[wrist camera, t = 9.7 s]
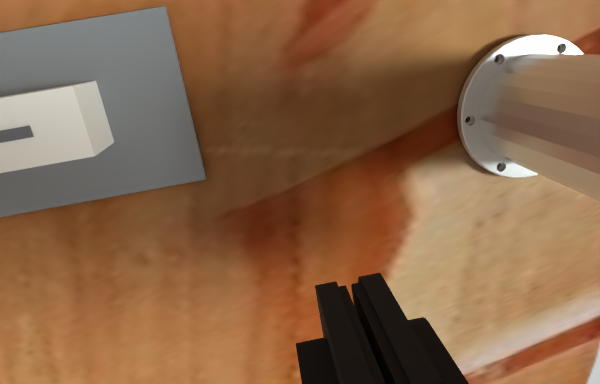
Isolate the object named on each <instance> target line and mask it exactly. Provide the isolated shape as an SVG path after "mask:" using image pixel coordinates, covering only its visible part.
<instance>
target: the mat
mask: <svg viewBox="0 0 600 384" xmlns="http://www.w3.org/2000/svg"><path fill="white" fill-rule="evenodd" d="M91 81H96V83H97V86H98V89H99V93H100V96H101V99H102V103H103V106H104V109H105V113H106V116H107V119H108V123H109V126H110V130H111V133H112V136H113V140H114V143H113V144H111V145H110V146H109V147H107V148H106V149H104V150H103V151H102V152H100V153H99V154H97V155H96V156H94V157H88V158H83V159H77V160H71V161H66V162H60V163H55V164H49V165H44V166H38V167H32V168H27V169H21V170H16V171H10V172H4V173H0V217H5V216H10V215H16V214H21V213H27V212H32V211H37V210H43V209H48V208H54V207H59V206H65V205H70V204H75V203H81V202H86V201H92V200H97V199H103V198H108V197H113V196H119V195H124V194H130V193H135V192H141V191H146V190H151V189H157V188H162V187H168V186H173V185H179V184H184V183H189V182H195V181H200V180H206V174H205V170H204V165H203V161H202V157H201V153H200V149H199V144H198V140H197V136H196V132H195V127H194V123H193V119H192V115H191V111H190V106H189V102H188V98H187V94H186V89H185V85H184V81H183V77H182V73H181V68H180V64H179V60H178V56H177V52H176V47H175V43H174V39H173V35H172V30H171V26H170V22H169V18H168V14H167V9H166V7H165V6H162V7H156V8H150V9H144V10H138V11H132V12H126V13H120V14H113V15H107V16H101V17H95V18H89V19H83V20H77V21H71V22H64V23H58V24H52V25H46V26H40V27H34V28H28V29H22V30H15V31H9V32H3V33H0V97H3V96H9V95H15V94H21V93H27V92H33V91H38V90H44V89H50V88H56V87H62V86H68V85H74V84H79V83H85V82H91Z"/></svg>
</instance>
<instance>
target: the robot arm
mask: <svg viewBox="0 0 600 384" xmlns="http://www.w3.org/2000/svg"><path fill="white" fill-rule="evenodd" d="M495 57H496V61H494V59H495ZM467 117H468V120H467V121H466V122H465V120H466V118H467ZM457 126H458V131H459V136H460V139H461V141H462V144H463V146H464V148H465V150H466V151H467V153H468V154H469V155H470V157H471V158H472V159H473V160H474V161H475V162H476V163H477V164H478V165H480V166H481V167H483V168H485V169H486V170H488V171H490V172H492V173H494V174H496V175H499V176H504V177H509V178H526V177H531V176H536V175H539V174H540V175H542V176H545V177H547V178H549V179H551V180H554V181H556V182H558V183H560V184H563V185H565V186H567V187H569V188H572V189H574V190H576V191H578V192H581V193H583V194H585V195H587V196H590V197H592V198H594V199H596V200H599V201H600V55H597V54H584V53H583V52H582V51H581V50H580V49H579V48H578V47H577V46H576V45H574V44H573V43H571V42H570V41H568V40H566V39H563V38H561V37H558V36H555V35H548V34H529V35H523V36H518V37H515V38H513V39H510V40H507V41H505V42H503V43H501V44H500V45H498V46H497V47H495V48H493V49H492V50H491V51H490V52H488V53H487V54H486V55H485V56H484V57H483V58H482V59H481V60H480V61H479V62H478V63H477V65H476V66H475V67H474V68H473V70H472V71H471V73H470V74H469V76H468V78H467V80H466V82H465V83H464V86H463V89H462V92H461V94H460V97H459V103H458V108H457ZM497 165H498V166H497ZM315 288H316V295H317V301H318V307H319V313H320V318H321V324H322V330H323V336H324V338H320V339H315V340H310V341H305V342H300V343H296V348H297V355H298V361H299V367H300V374H301V380H302V384H469V383H468V382H467V380H466V379H465V377H464V376H463V374H462V373H461V371H460V370H459V368H458V367H457V365H456V363H455V362H454V360H453V359H452V357H451V356H450V354H449V353H448V351H447V350H446V348H445V347H444V345H443V344H442V342H441V341H440V339H439V337H438V336H437V334H436V333H435V331H434V330H433V328H432V327H431V325H430V324H429V322H428V321H427V320H426V318H423V317H422V318H417V319H412V320H407V318H406V316H405V315H404V313H403V311H402V309H401V308H400V306H399V304H398V303H397V301H396V299H395V297H394V296H393V294H392V292H391V291H390V289H389V287H388V285H387V284H386V282H385V280H384V279H383V277H382V275H381V274H380V273H376V274H371V275H366V276H361V277H359V278H358V283H355V284H352V294H353V301H354V305H353V302H352V300H351V297H350V295H349V292H348V290H347V287H346V286H340V287H338V285H337V282H331V283H326V284H321V285H316V286H315Z"/></svg>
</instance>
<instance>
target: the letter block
mask: <svg viewBox="0 0 600 384" xmlns="http://www.w3.org/2000/svg"><path fill="white" fill-rule="evenodd" d="M113 143H114V140H113V136H112V133H111V130H110V126H109V123H108V119H107V116H106V113H105V109H104V106H103V103H102V99H101V96H100V93H99V89H98V86H97V83H96V81H91V82H85V83H79V84H74V85H68V86H62V87H56V88H50V89H44V90H38V91H33V92H27V93H21V94H15V95H9V96H3V97H0V173H4V172H10V171H16V170H21V169H27V168H32V167H38V166H44V165H49V164H55V163H60V162H66V161H71V160H77V159H83V158H88V157H94V156H96V155H97V154H99V153H100V152H102V151H103V150H104V149H106V148H107V147H109V146H110V145H111V144H113Z"/></svg>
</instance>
